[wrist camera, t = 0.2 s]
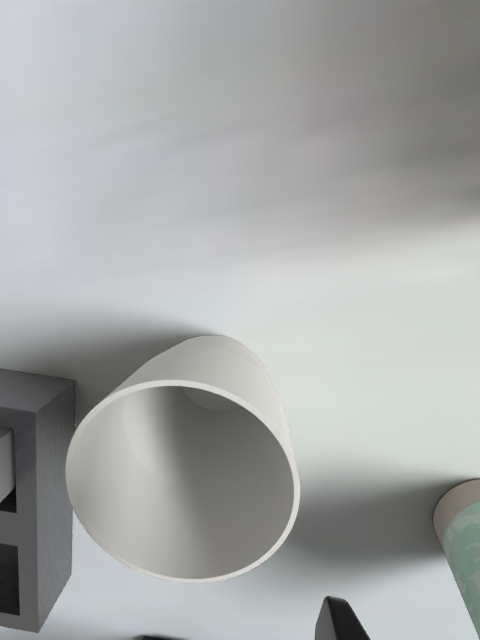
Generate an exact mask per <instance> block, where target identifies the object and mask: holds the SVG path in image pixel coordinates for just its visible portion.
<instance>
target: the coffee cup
mask: <svg viewBox="0 0 480 640" xmlns="http://www.w3.org/2000/svg"><path fill="white" fill-rule="evenodd" d="M433 525H434V529H435V531H436V534H437V536H438V539H439V541H440V544H441V546H442V549H443V551H444V554H445V556H446V559H447V561H448V564H449V566H450V568H451V571H452V573H453V576H454V578H455V581H456V583H457V585H458V588H459V590H460V593H461V595H462V598H463V600H464V602H465V605H466V607H467V610H468V612H469V615H470V617H471V619H472V622H473V624H474V627H475V629H476V632H477V634H478V636H479V639H480V479H477V480H471V481H468V482H464V483H462V484H459V485H457V486H456V487H454V488H452V489H451V490H449V491H448V492H447V493H446V494H445V495H444V496H443V497H442V498H441V499H440V501H439V502H438V504H437V506H436V508H435V511H434V515H433Z"/></svg>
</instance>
